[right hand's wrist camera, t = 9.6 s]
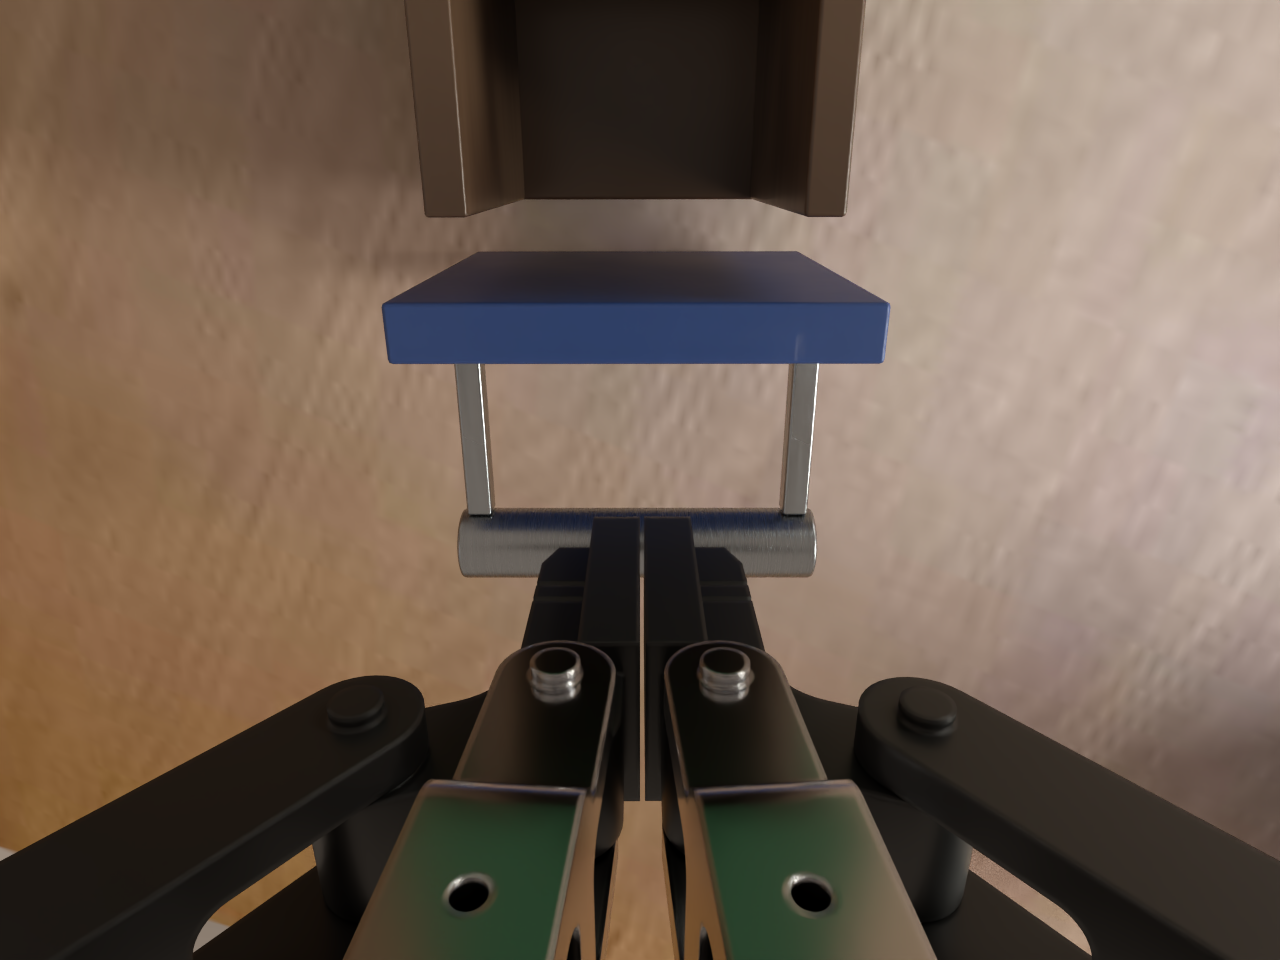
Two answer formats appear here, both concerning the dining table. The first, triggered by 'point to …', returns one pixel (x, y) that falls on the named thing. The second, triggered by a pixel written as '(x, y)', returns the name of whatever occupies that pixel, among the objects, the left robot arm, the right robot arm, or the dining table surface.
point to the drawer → (635, 169)
